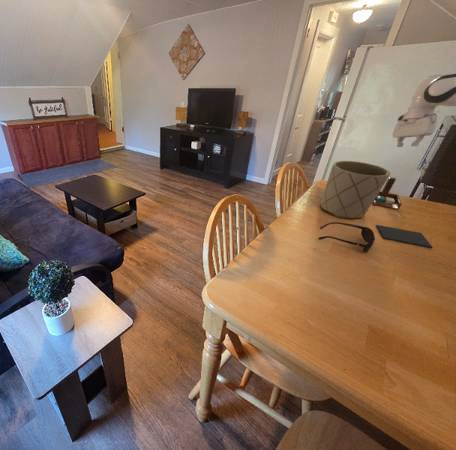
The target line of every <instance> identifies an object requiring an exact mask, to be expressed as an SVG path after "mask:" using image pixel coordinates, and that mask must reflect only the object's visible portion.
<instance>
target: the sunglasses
mask: <svg viewBox="0 0 456 450" xmlns="http://www.w3.org/2000/svg"><path fill="white" fill-rule="evenodd" d="M329 225H341V226H347V227H351V228H356V229H359V230H361V232H360V234H361V238H362V239H363V240H364V242H365V243H366V244H364V243H359V242H355V241H351V240H347V239H343V238H339V237H334V236H331V235H324V236H319V237H318V240H324V239H333V240H336V241H339V242H343V243H346V244H350V245H353V246H356V247H359V248H363V250H362V251H363V253H366V254H367V253H368V252H369V251H370V249H372V247H373V246H374V244H375V243H374V242H375V241H376V237H375V232H374V231H373V229H371V228H370V227H367V226H363V225H359V224H353V223H346V222H338V221H337V222H336V221H332V222H327V223H326V224H323V225H321V226H320V227H319V230H323V229H325V228H326V227H327V226H329Z"/></svg>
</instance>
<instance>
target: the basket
mask: <svg viewBox="0 0 456 450" xmlns="http://www.w3.org/2000/svg"><path fill="white" fill-rule="evenodd" d="M396 181H397V179H396V177H392V176H389V177H388V179H387V181H386V182H385V184H384V185H383V187H382V189H381V190H380V192H379V193H378V196H383V197H384V198H386V197H388V198H393V199H394V201H395V202H394V204H388V203H385V201H384V202H379V201H376V200H374V201H373V203H372V204H371V205H374V206H376V207H377V206H378V207H381V208H382V207H383V208H387V209H392V210H397V211H398V210H399V209H400V208H401V206H402V200H401V198H400V195H399V194H397V193H396V194H395V193H391V192H390V191H391V190H392V187H393V186H394V184H395V183H396Z"/></svg>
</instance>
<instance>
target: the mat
mask: <svg viewBox="0 0 456 450" xmlns="http://www.w3.org/2000/svg"><path fill="white" fill-rule="evenodd" d="M376 228H377V230H378V232H379V234H380V236H381V237H382V239H383V240H387V241H388V240H389V241H393V242H398V243H403V244H408V245H412V246H417V247H418V246H419V247H423V248H428V249H433V246H432V244H431V243H430V241H428V239H427V237H425V236H424V234H423V233H422V232H418V231H413V230H409V229H403V228H397V227H391V226H385V225H380V224H376Z"/></svg>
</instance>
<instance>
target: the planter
mask: <svg viewBox="0 0 456 450" xmlns="http://www.w3.org/2000/svg"><path fill="white" fill-rule="evenodd" d="M389 177H391V172H390V170H388V169H387V168H384V167H382V166H379V165H375V164H371V163H367V162H361V161H354V160H340V161H335V162H334V163H332V166H331V169H330V172H329V176H328V178H327V181H326V184H325V188H324V191H323V194H322V197H321V199H320V207H321V208H322V209H323V210H325V211H326V212H328V213H330V214H332V215H333V216H334V217H335V218H340V219H341V218H342V219H362V218H364V217H365V215H366V214H367V212H368V211H369V209H370V208H371V206H372V205H373V204H372V203H373V201H374V200H375V198H376V196H377V195H378V193H379V192H380V191H382V189H383V188H384V186H385V184H386V182H387V180H388V178H389Z"/></svg>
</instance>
